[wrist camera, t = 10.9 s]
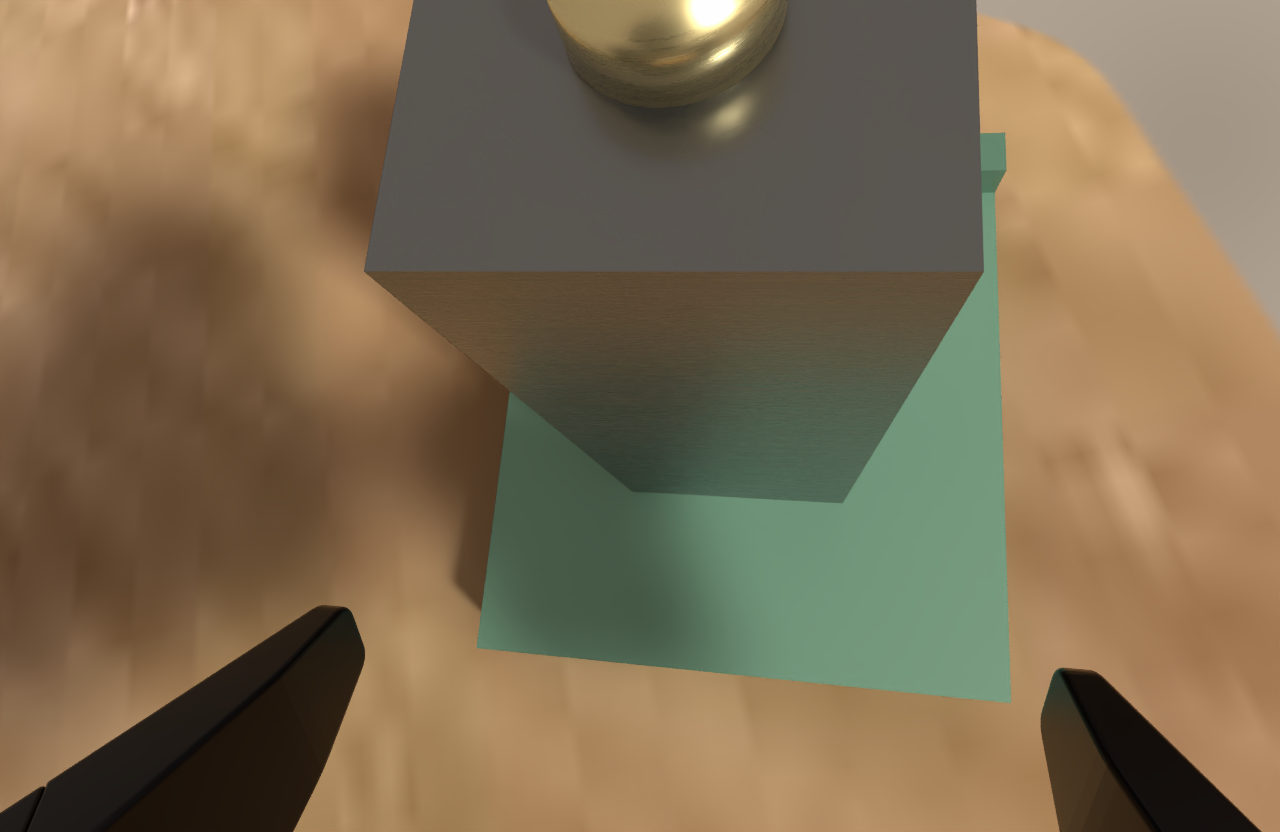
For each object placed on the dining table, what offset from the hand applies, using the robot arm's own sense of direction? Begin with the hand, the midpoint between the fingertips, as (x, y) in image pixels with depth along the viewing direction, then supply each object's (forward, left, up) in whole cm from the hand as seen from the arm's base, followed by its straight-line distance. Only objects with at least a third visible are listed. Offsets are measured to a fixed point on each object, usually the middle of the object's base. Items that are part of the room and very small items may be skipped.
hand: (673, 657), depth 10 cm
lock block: (+5, +2, -8) cm, 10 cm away
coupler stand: (+5, +2, -10) cm, 12 cm away
